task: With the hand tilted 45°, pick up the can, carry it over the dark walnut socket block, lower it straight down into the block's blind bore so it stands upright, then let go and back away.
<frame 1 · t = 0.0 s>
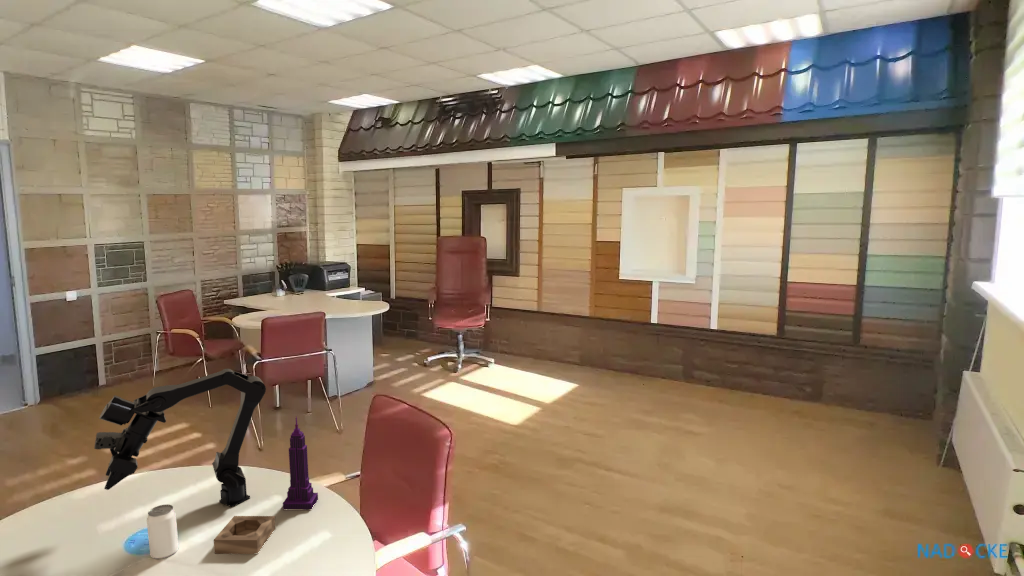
hand: (106, 482, 157), 15 cm above the table, tool tilted 35°, fingers open, 9 cm apart
building model: (301, 505, 174), on the table
socket block: (246, 540, 156), on the table
can: (164, 552, 151), on the table
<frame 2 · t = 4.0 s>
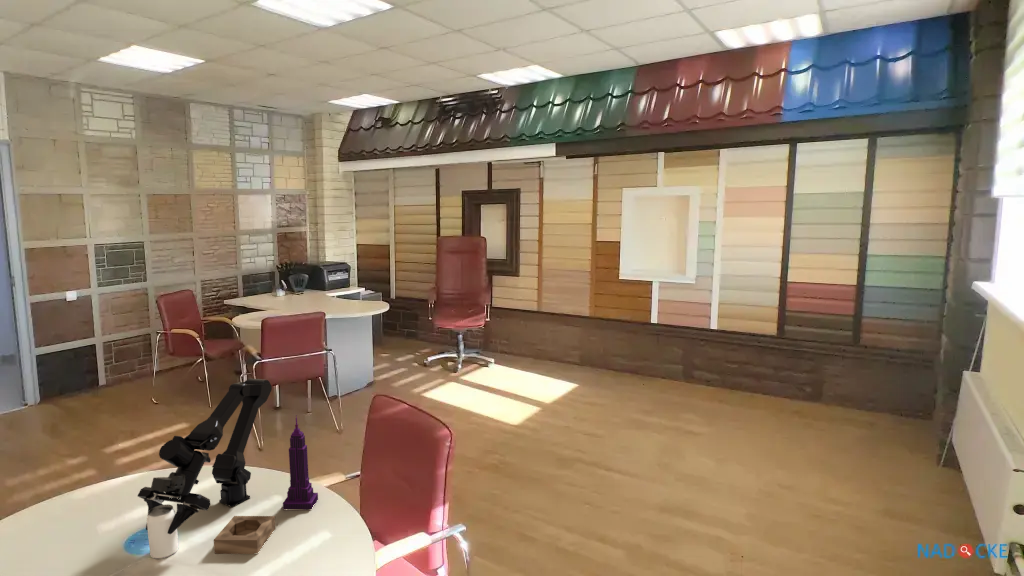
hand: (158, 532, 148), 7 cm above the table, tool tilted 45°, fingers closed on can, 6 cm apart
can: (164, 552, 151), on the table, touching gripper
everything else where it was.
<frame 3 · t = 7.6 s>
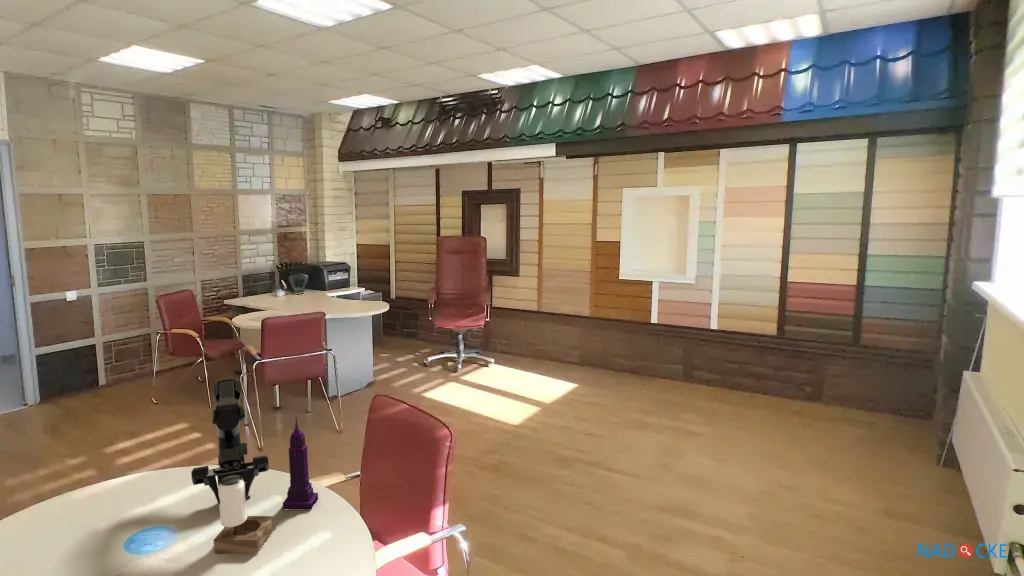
hand: (233, 500, 151), 13 cm above the table, tool tilted 45°, fingers closed on can, 6 cm apart
can: (234, 522, 153), point 6 cm above the table, touching gripper
everything else where it was.
when the fingers open (9 cm above the table, at t = 10.8 s): can drops 1 cm, resting on socket block.
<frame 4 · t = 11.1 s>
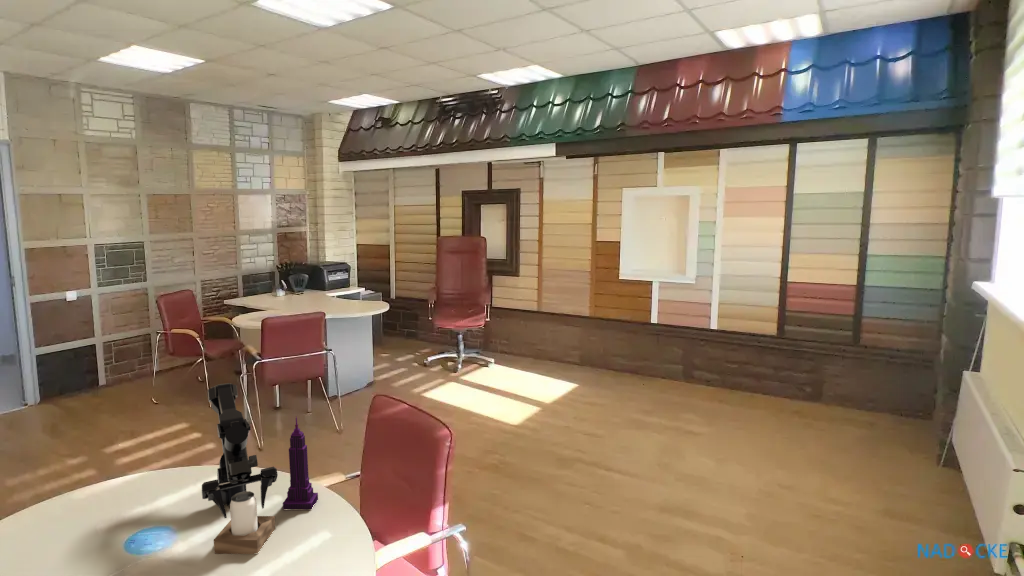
hand: (244, 512, 153), 9 cm above the table, tool tilted 45°, fingers open, 9 cm apart
can: (245, 537, 156), point 1 cm above the table, touching socket block
everything else where it was.
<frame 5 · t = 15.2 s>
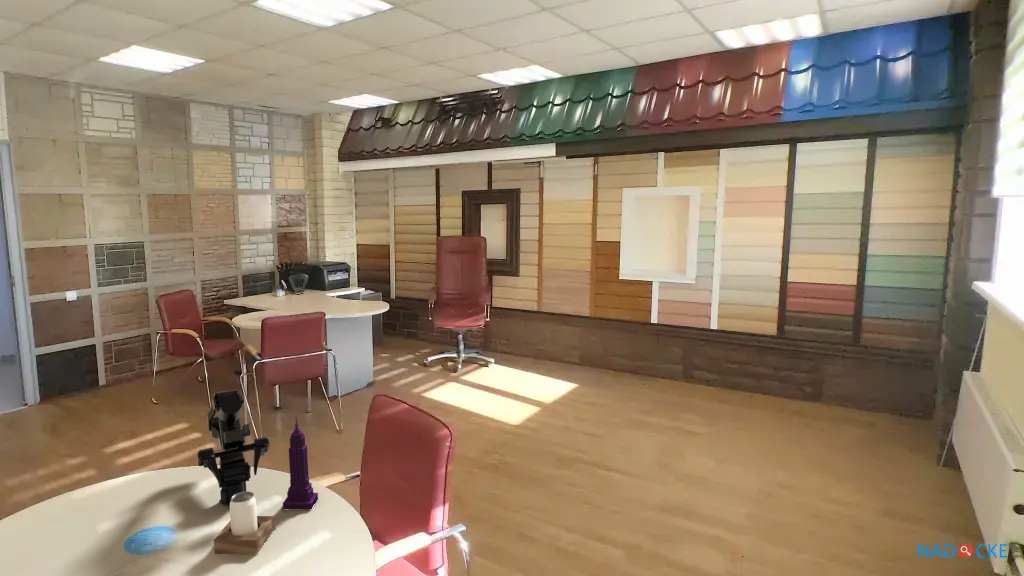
hand: (238, 478, 162), 14 cm above the table, tool tilted 45°, fingers open, 9 cm apart
nothing on the table moved.
at the end: can 0.3 cm off-centre on the socket block, point 0.8 cm above the socket block's base; can tilted 0°; the gripper is holding nothing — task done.
